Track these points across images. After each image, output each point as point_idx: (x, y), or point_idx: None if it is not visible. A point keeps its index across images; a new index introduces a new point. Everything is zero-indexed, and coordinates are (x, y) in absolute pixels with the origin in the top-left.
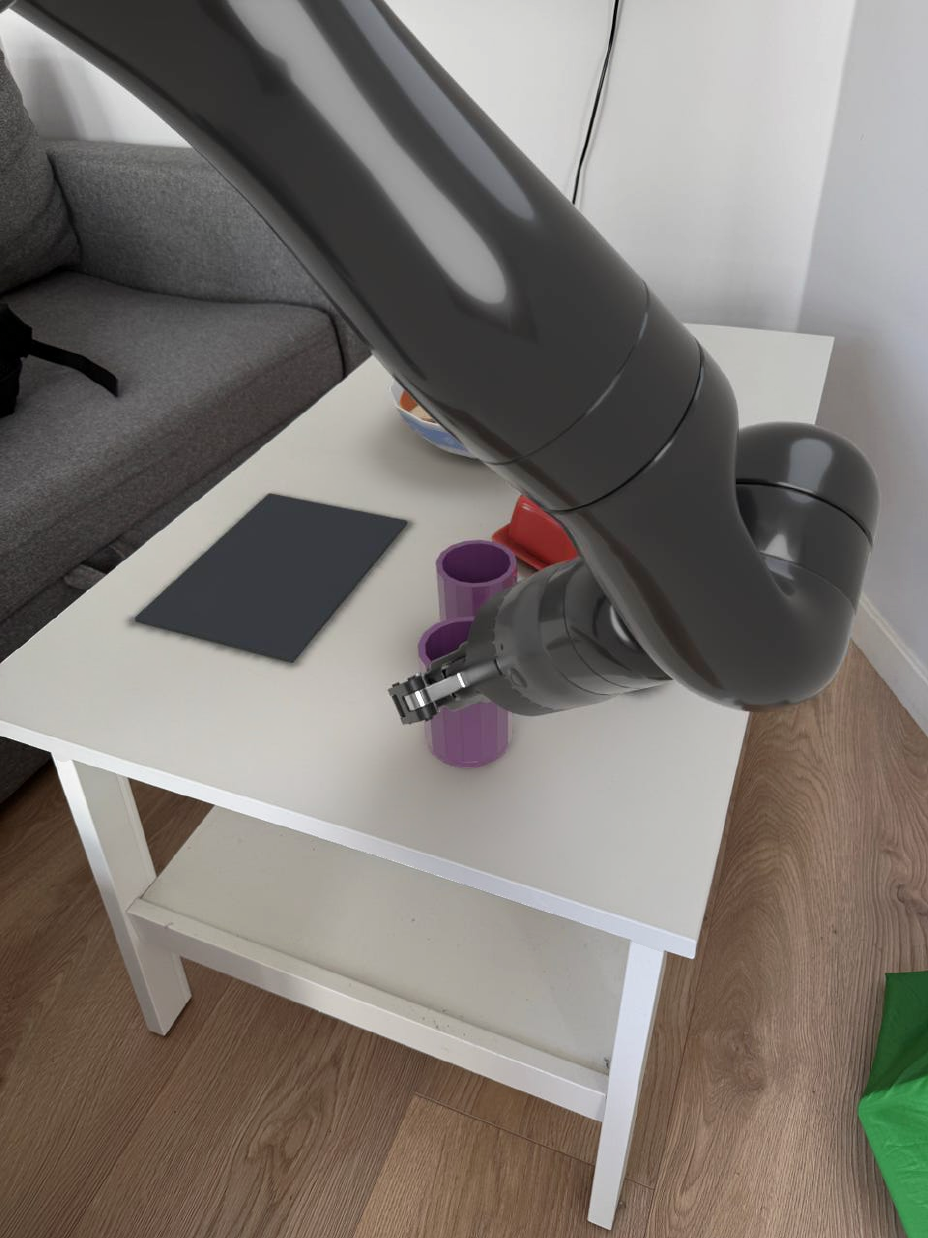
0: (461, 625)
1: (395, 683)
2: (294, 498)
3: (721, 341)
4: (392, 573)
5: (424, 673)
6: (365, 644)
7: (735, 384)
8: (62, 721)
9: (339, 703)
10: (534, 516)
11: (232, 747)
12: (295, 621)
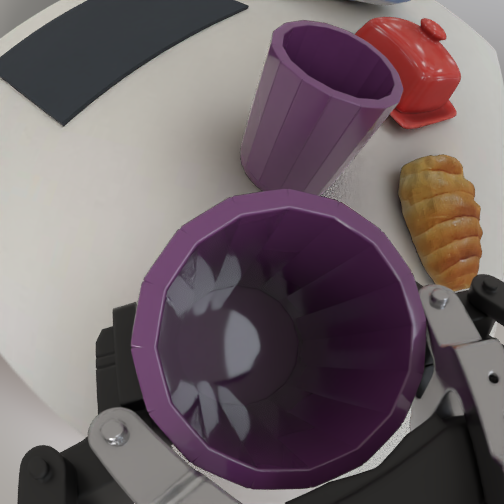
0: (305, 219)
1: (34, 476)
2: None
3: (456, 19)
4: (215, 42)
5: (126, 492)
6: (149, 115)
7: (469, 42)
8: None
9: (84, 201)
10: (386, 41)
11: None
12: (91, 75)
